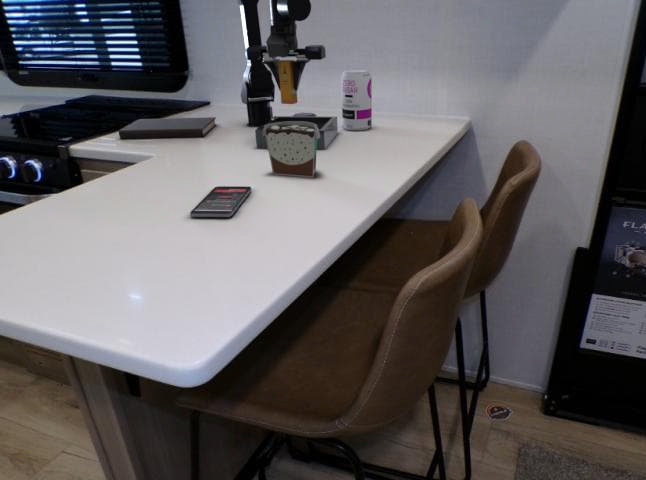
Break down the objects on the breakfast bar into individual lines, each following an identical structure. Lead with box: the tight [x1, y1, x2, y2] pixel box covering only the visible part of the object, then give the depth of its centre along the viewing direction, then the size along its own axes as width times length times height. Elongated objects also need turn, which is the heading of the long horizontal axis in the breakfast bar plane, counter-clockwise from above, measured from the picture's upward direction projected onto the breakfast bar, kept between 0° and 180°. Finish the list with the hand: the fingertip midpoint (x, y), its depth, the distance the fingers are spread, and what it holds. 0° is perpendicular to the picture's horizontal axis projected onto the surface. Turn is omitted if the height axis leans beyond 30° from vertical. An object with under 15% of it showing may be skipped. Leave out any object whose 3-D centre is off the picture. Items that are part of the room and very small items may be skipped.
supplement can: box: [340, 68, 373, 132], centre depth 145 cm, size 8×8×15 cm
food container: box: [263, 121, 320, 179], centre depth 110 cm, size 12×6×10 cm, turn 71°
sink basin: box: [254, 115, 339, 150], centre depth 136 cm, size 17×17×4 cm
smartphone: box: [189, 185, 252, 219], centre depth 95 cm, size 7×1×15 cm
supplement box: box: [278, 59, 298, 105], centre depth 130 cm, size 3×3×10 cm
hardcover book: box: [118, 116, 218, 140], centre depth 149 cm, size 16×23×2 cm
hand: (288, 90), depth 131 cm, fingers closed on supplement box, 4 cm apart
